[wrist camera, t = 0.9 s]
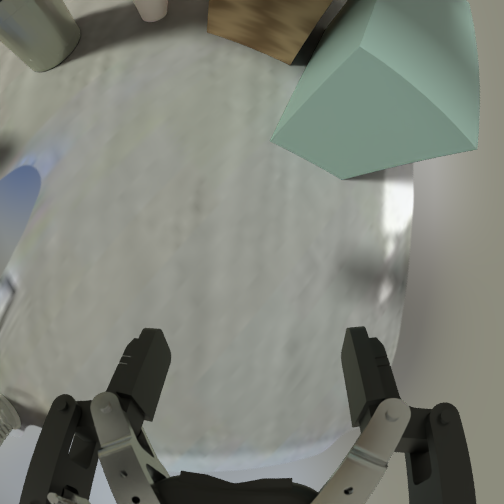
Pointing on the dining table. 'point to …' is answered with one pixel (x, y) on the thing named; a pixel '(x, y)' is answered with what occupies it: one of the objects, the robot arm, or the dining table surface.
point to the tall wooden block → (266, 23)
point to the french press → (7, 418)
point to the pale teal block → (387, 88)
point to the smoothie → (151, 9)
